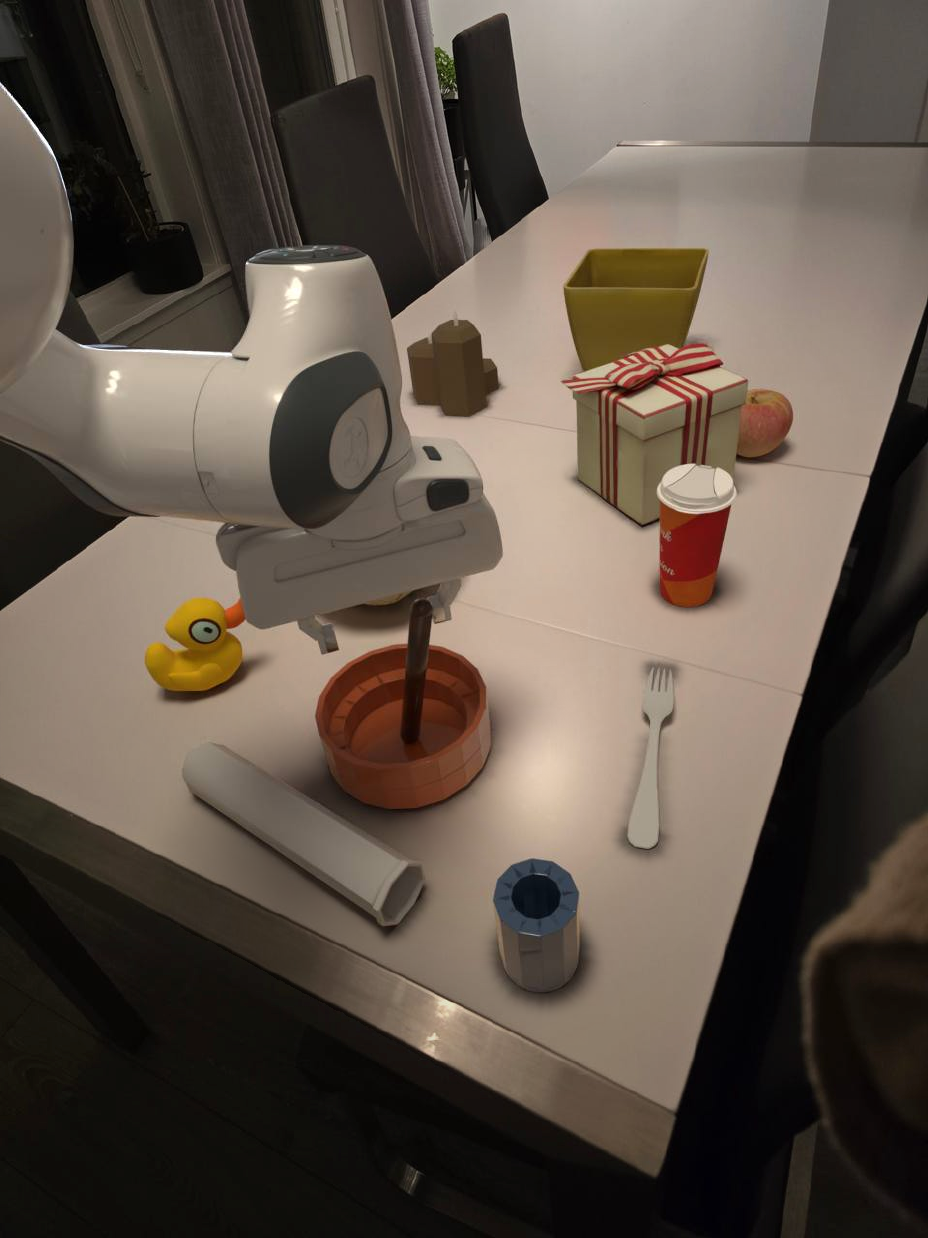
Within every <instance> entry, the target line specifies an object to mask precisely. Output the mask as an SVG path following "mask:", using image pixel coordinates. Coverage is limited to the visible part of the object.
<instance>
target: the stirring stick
mask: <svg viewBox="0 0 928 1238" xmlns="http://www.w3.org/2000/svg"><path fill="white" fill-rule="evenodd" d="M432 614H433V607H432V604H431V603H430V601H428V600H427V598H423V597H421V598H417V599H415V600H414V601H413V602H412V603H411V604H410V610H409V622H408V635H407V644H408V645H407V657H406V669H405V681H404V694H403V706H402V718H401V730H400V736H401V739H402V740H403V741H404V742H405V743H407V744H412V743H415V742H416V741H417V740H418V739H419V736H420V727H421V718H422V708H423V699H424V689H425V680H426V671H427V661H428V652H429V645H430V643H431V642H430V641H431V631H432V624H433V623H432V622H433V619H432Z"/></svg>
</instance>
